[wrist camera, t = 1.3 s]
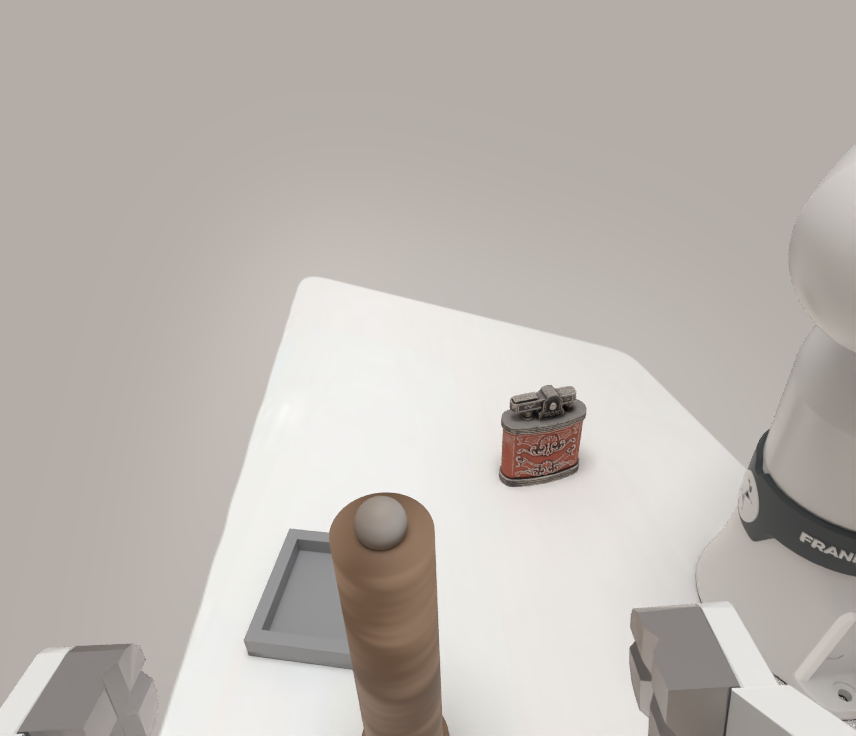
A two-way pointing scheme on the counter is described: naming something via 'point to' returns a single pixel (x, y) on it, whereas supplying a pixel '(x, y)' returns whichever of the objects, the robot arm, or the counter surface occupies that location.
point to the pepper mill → (390, 612)
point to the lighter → (541, 436)
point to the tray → (301, 606)
